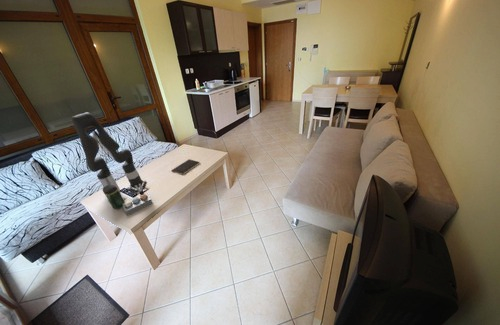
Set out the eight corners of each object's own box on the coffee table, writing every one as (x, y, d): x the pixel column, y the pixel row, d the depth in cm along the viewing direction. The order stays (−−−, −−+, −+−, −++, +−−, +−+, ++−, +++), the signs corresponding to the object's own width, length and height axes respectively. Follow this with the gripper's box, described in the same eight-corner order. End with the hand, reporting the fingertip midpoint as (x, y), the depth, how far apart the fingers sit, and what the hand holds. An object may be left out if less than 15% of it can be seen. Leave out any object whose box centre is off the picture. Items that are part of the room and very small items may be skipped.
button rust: (141, 199, 150) (139, 195, 148) (146, 196, 152) (144, 193, 150) (142, 201, 147) (140, 197, 145) (148, 199, 149) (146, 195, 147)
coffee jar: (127, 204, 151) (117, 185, 141) (117, 210, 145) (106, 191, 136) (121, 200, 155) (110, 182, 146) (111, 207, 149) (99, 188, 140)
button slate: (133, 203, 147) (131, 199, 145) (139, 200, 149) (137, 196, 147) (135, 205, 144) (132, 201, 142) (140, 202, 146) (138, 198, 144)
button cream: (126, 206, 144) (123, 202, 142) (131, 204, 146) (129, 200, 144) (127, 209, 141) (124, 205, 139) (133, 206, 143) (130, 202, 141)
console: (124, 207, 147) (122, 203, 145) (148, 196, 157) (146, 192, 155) (127, 215, 139) (125, 211, 137) (152, 203, 148) (150, 199, 146)
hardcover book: (200, 163, 196) (199, 161, 195) (183, 175, 180) (182, 173, 179) (189, 160, 204) (188, 159, 203) (171, 172, 188) (171, 170, 186)
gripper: (141, 170, 144) (149, 188, 153) (122, 178, 137) (132, 196, 146) (144, 173, 139) (152, 192, 148) (124, 182, 132) (134, 201, 141)
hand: (142, 194), depth 147 cm, fingers closed
